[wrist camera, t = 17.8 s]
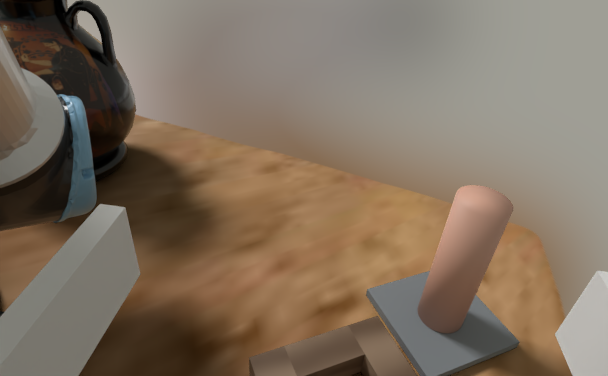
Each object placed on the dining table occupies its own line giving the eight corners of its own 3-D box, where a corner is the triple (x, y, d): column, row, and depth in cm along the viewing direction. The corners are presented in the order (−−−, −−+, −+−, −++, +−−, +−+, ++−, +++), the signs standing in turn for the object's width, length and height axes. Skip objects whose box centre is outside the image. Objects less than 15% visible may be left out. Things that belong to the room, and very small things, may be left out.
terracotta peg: (408, 303, 48) (445, 190, 39) (443, 292, 50) (485, 181, 41) (436, 339, 45) (482, 222, 36) (472, 325, 47) (525, 211, 38)
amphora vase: (156, 133, 80) (130, -32, 63) (126, 202, 62) (81, -2, 46) (34, 131, 77) (-23, -41, 61) (-31, 202, 60) (-137, -13, 44)
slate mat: (366, 294, 50) (367, 289, 50) (446, 270, 55) (448, 265, 54) (426, 384, 42) (428, 378, 41) (516, 347, 46) (519, 342, 45)
